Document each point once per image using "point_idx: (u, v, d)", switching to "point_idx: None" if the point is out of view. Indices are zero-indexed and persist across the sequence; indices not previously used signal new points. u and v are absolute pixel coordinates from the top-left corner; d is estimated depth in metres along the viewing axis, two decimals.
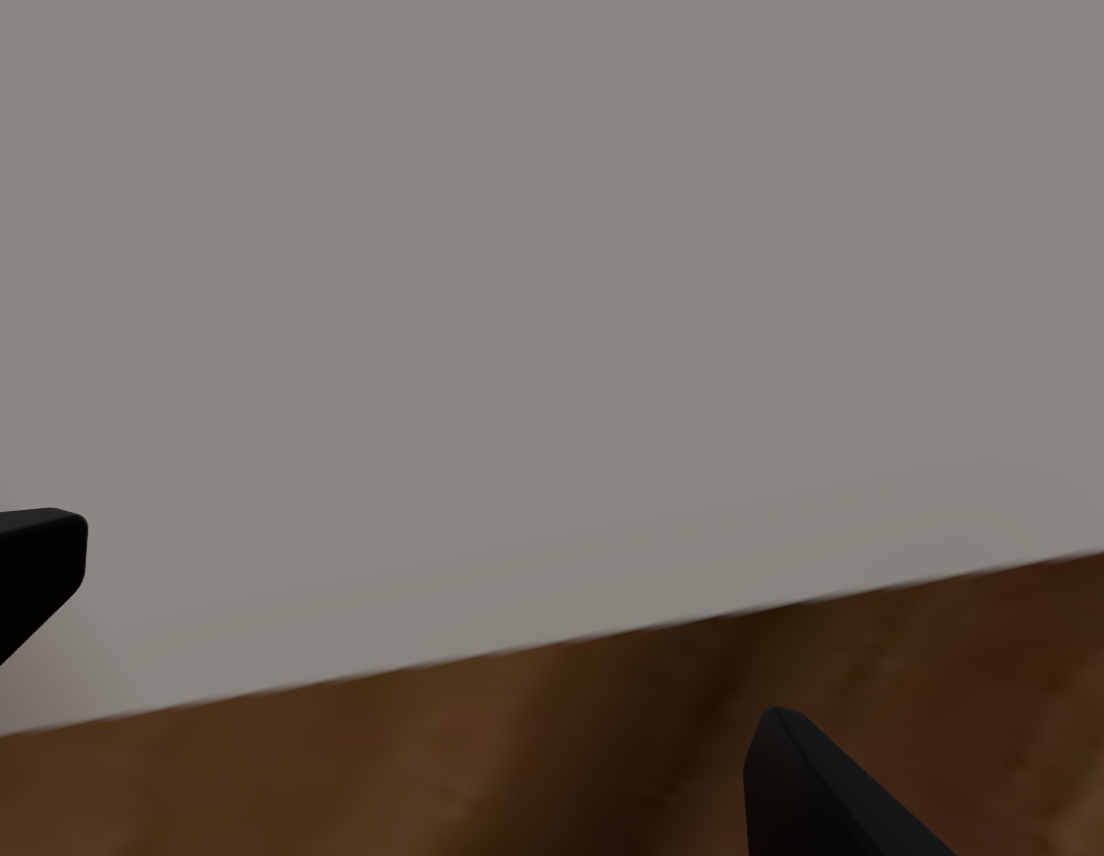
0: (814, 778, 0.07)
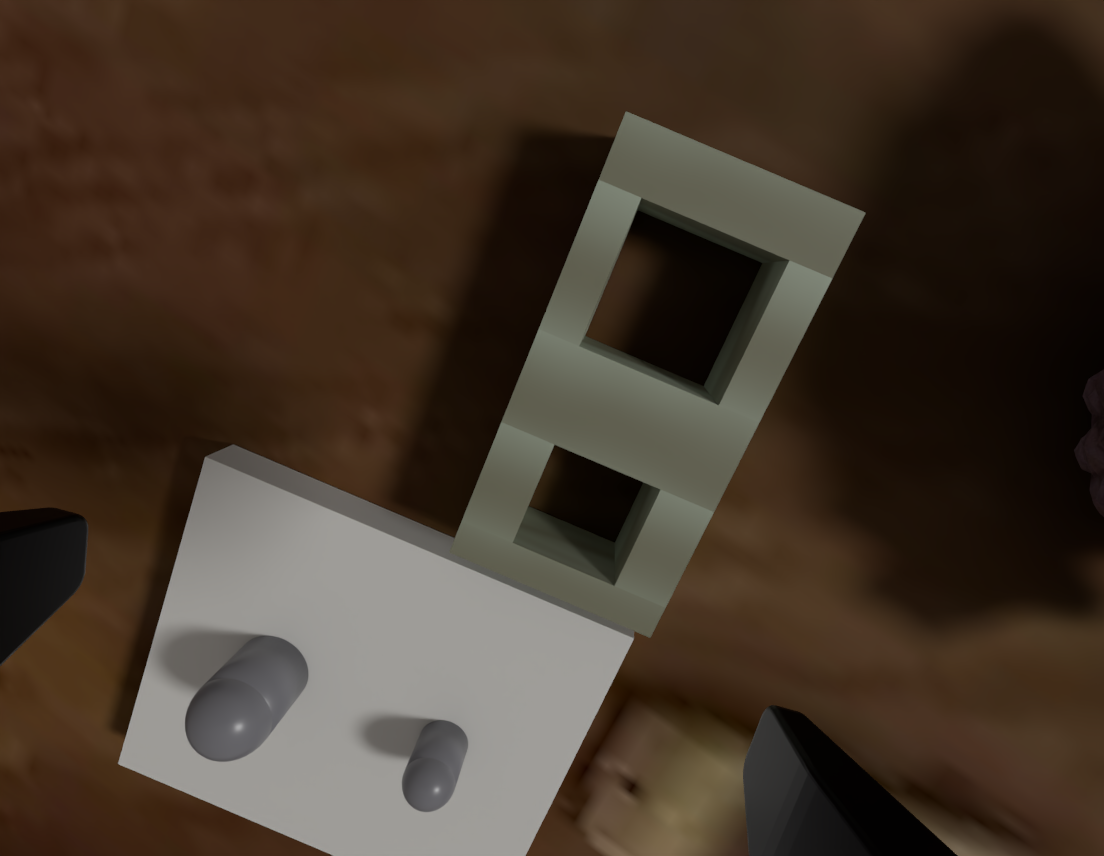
0: (814, 778, 0.07)
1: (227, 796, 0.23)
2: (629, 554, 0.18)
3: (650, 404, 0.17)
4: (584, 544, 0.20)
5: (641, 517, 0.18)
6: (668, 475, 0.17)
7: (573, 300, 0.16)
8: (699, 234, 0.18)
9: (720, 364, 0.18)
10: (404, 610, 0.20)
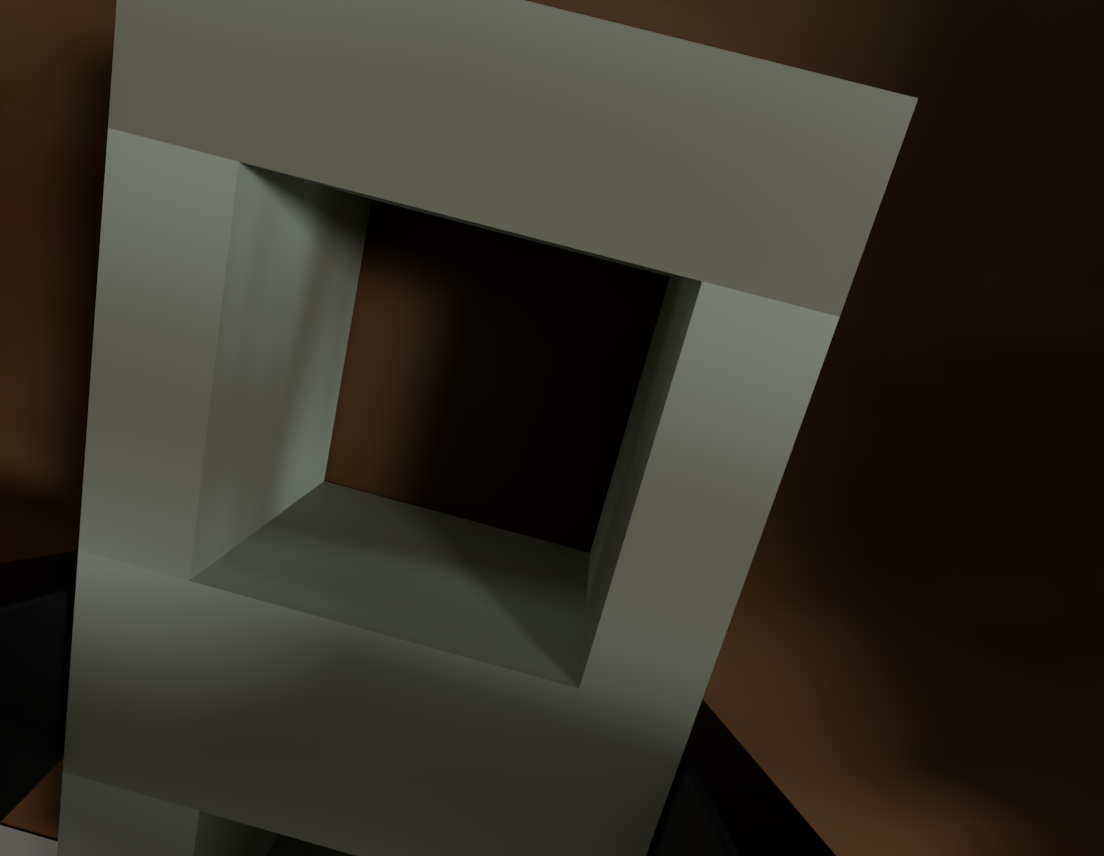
0: None
1: None
2: None
3: (403, 701, 0.06)
4: None
5: None
6: None
7: (140, 469, 0.06)
8: (507, 234, 0.08)
9: (604, 523, 0.08)
10: None
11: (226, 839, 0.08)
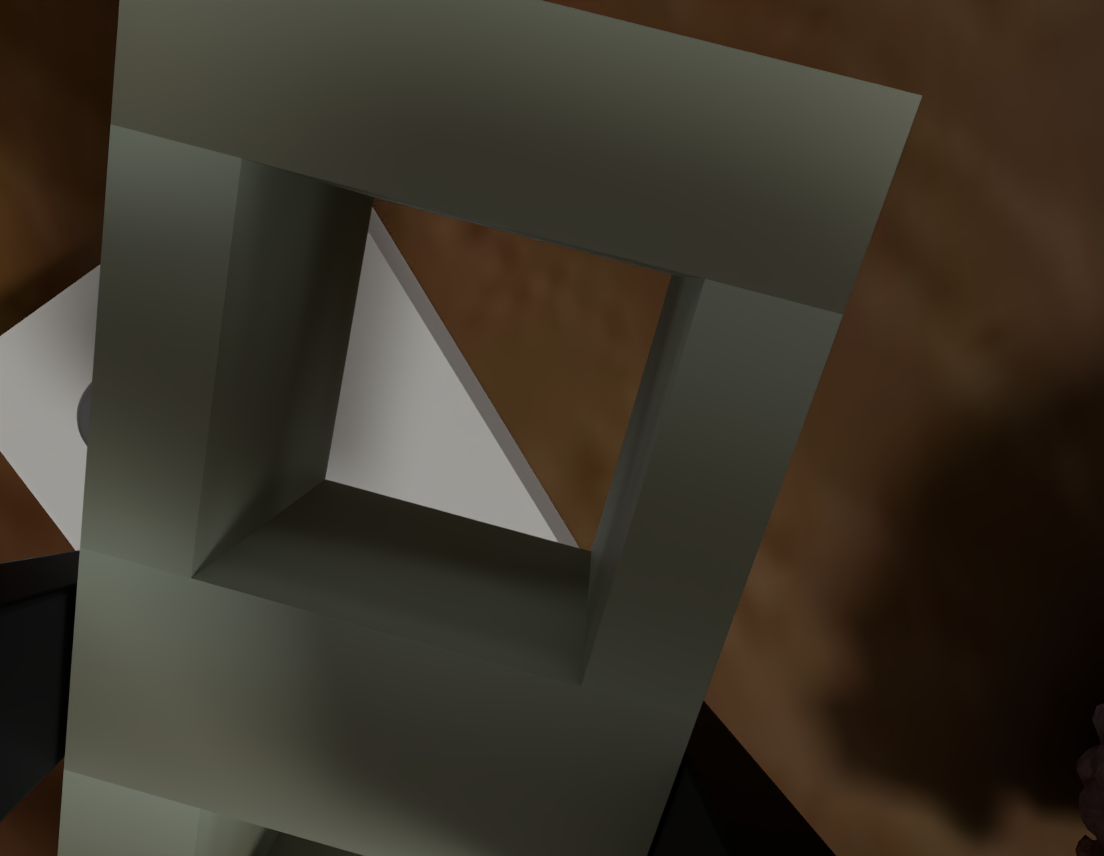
0: None
1: (53, 491, 0.18)
2: None
3: (406, 700, 0.06)
4: None
5: None
6: None
7: (142, 466, 0.06)
8: (509, 232, 0.08)
9: (606, 522, 0.08)
10: (396, 434, 0.17)
11: (227, 837, 0.08)
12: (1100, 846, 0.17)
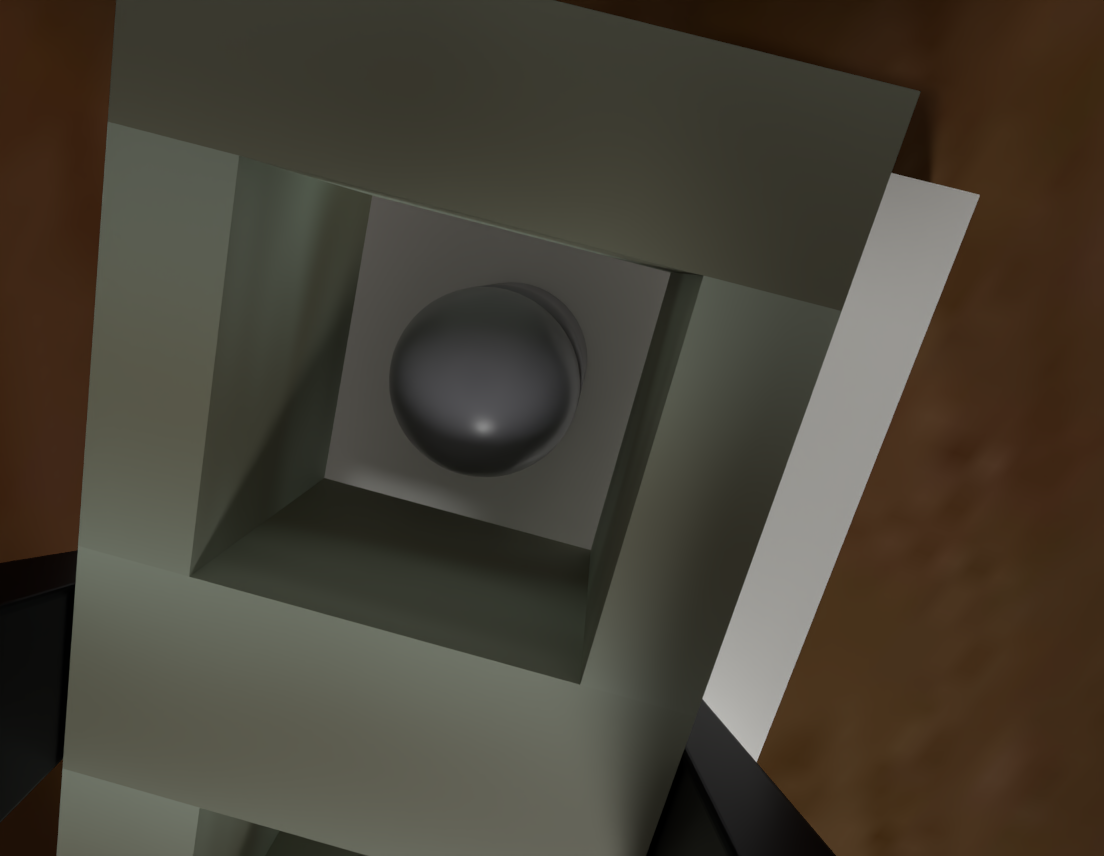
0: None
1: None
2: None
3: (405, 698, 0.06)
4: None
5: None
6: (489, 855, 0.07)
7: (140, 465, 0.06)
8: (508, 230, 0.08)
9: (605, 520, 0.08)
10: None
11: (226, 836, 0.08)
12: None
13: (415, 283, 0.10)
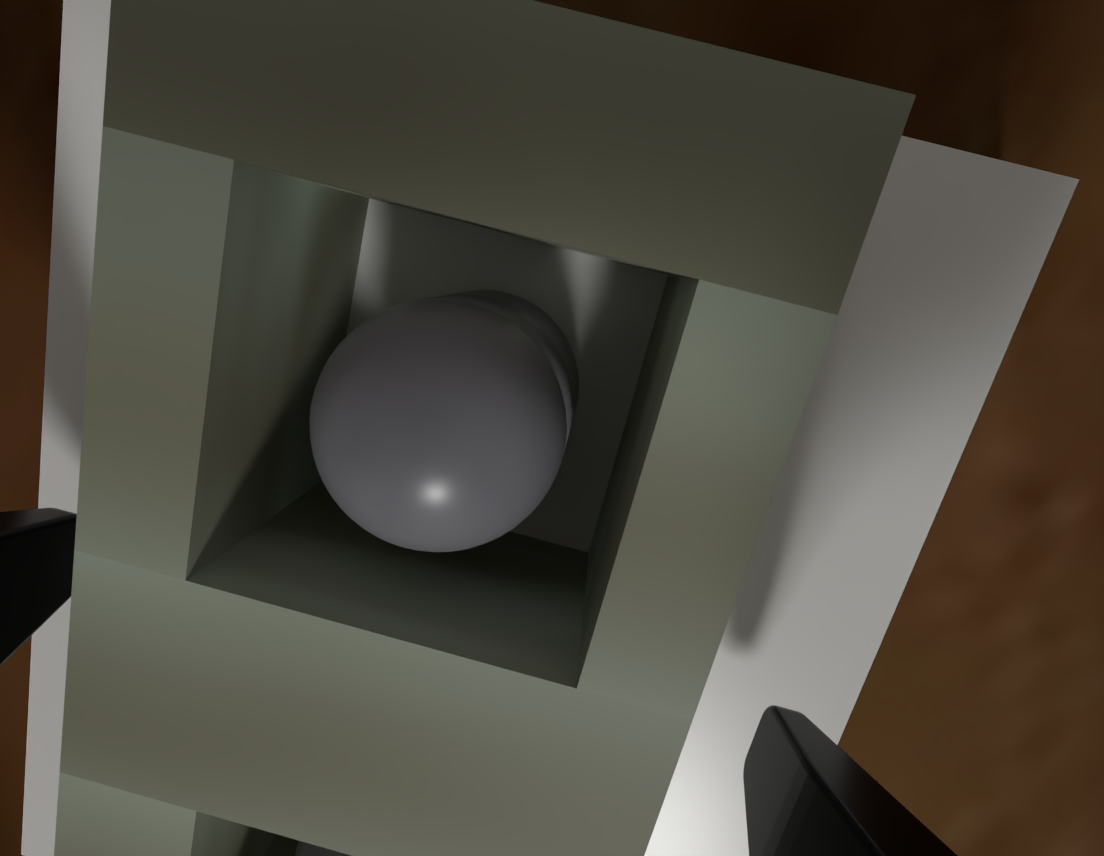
0: (814, 778, 0.07)
1: (92, 276, 0.09)
2: None
3: (401, 702, 0.06)
4: None
5: None
6: None
7: (137, 468, 0.06)
8: (505, 232, 0.08)
9: (602, 523, 0.08)
10: None
11: (224, 839, 0.08)
12: None
13: (364, 291, 0.08)
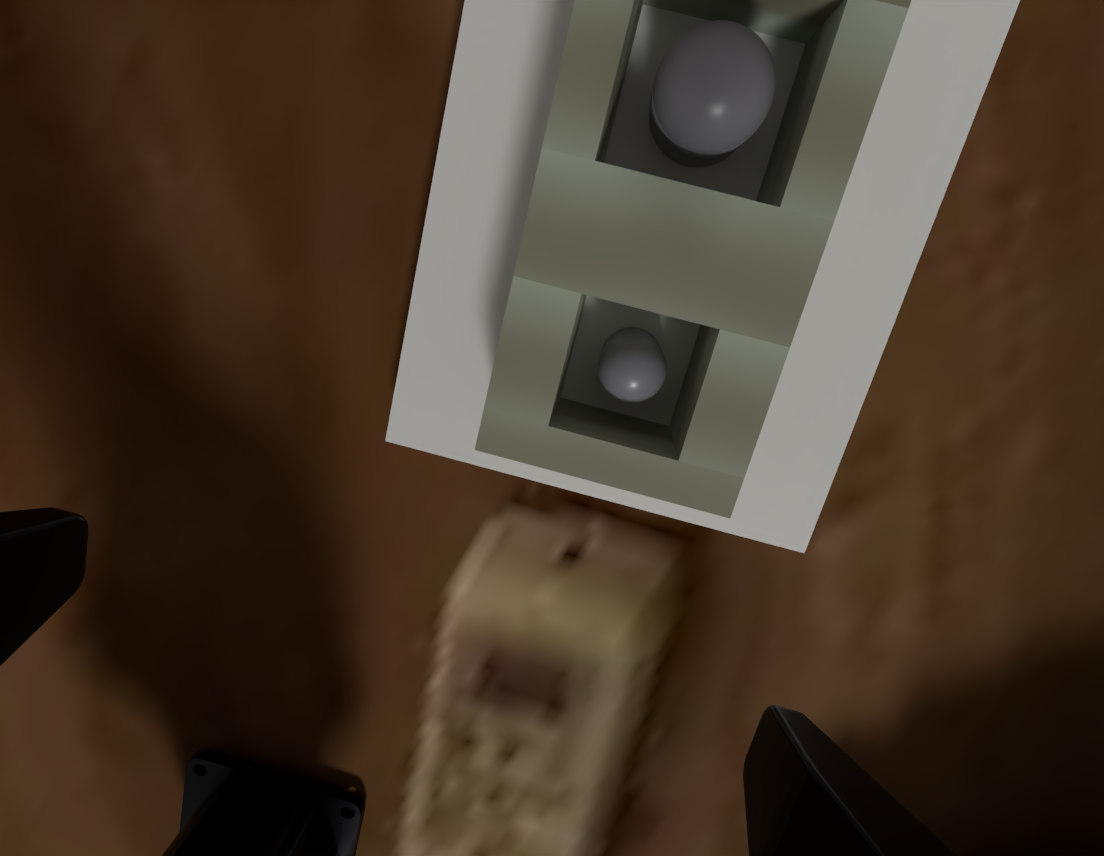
0: (814, 778, 0.07)
1: (479, 56, 0.16)
2: (691, 418, 0.14)
3: (693, 221, 0.13)
4: (634, 427, 0.16)
5: (699, 375, 0.15)
6: (727, 309, 0.14)
7: (579, 101, 0.13)
8: (723, 15, 0.14)
9: (770, 175, 0.15)
10: (811, 290, 0.16)
11: (570, 343, 0.15)
12: None
13: (635, 59, 0.15)
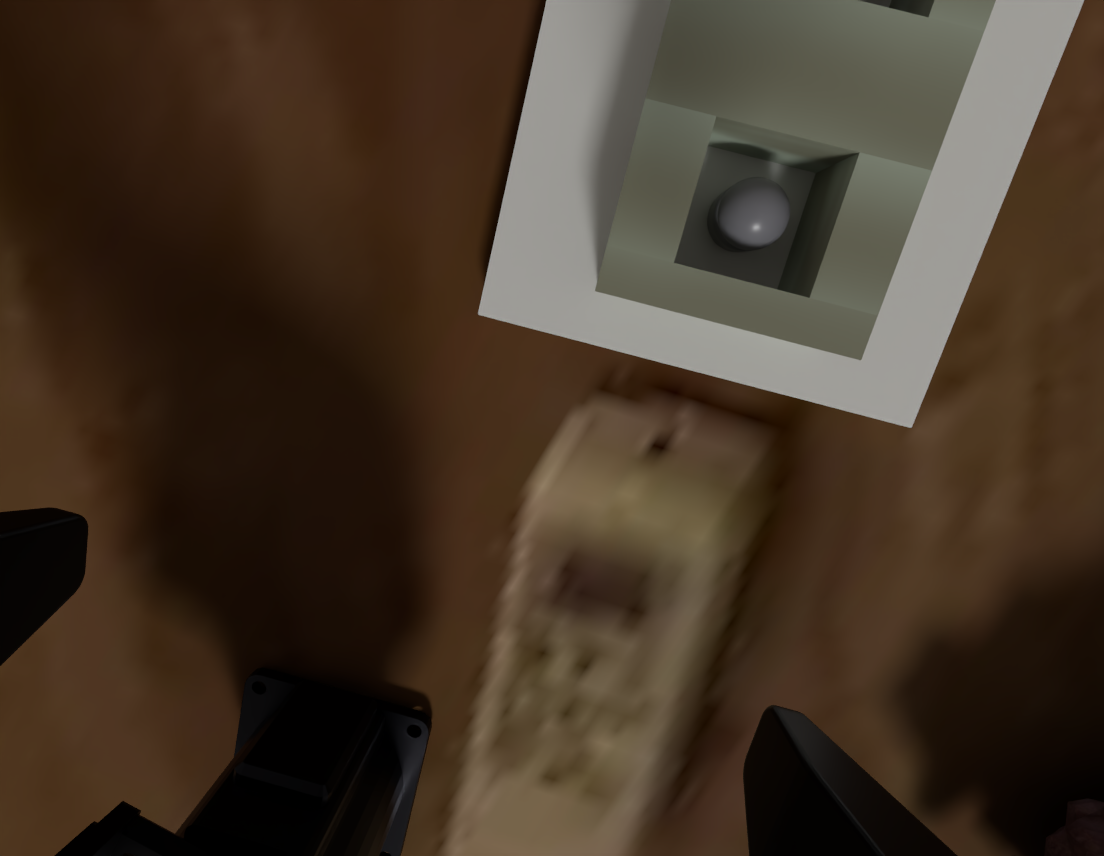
0: (814, 779, 0.07)
1: None
2: (824, 252, 0.14)
3: (837, 34, 0.13)
4: None
5: (828, 212, 0.14)
6: (868, 130, 0.13)
7: None
8: None
9: None
10: None
11: None
12: None
13: None
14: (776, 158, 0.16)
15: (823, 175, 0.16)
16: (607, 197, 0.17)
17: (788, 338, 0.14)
